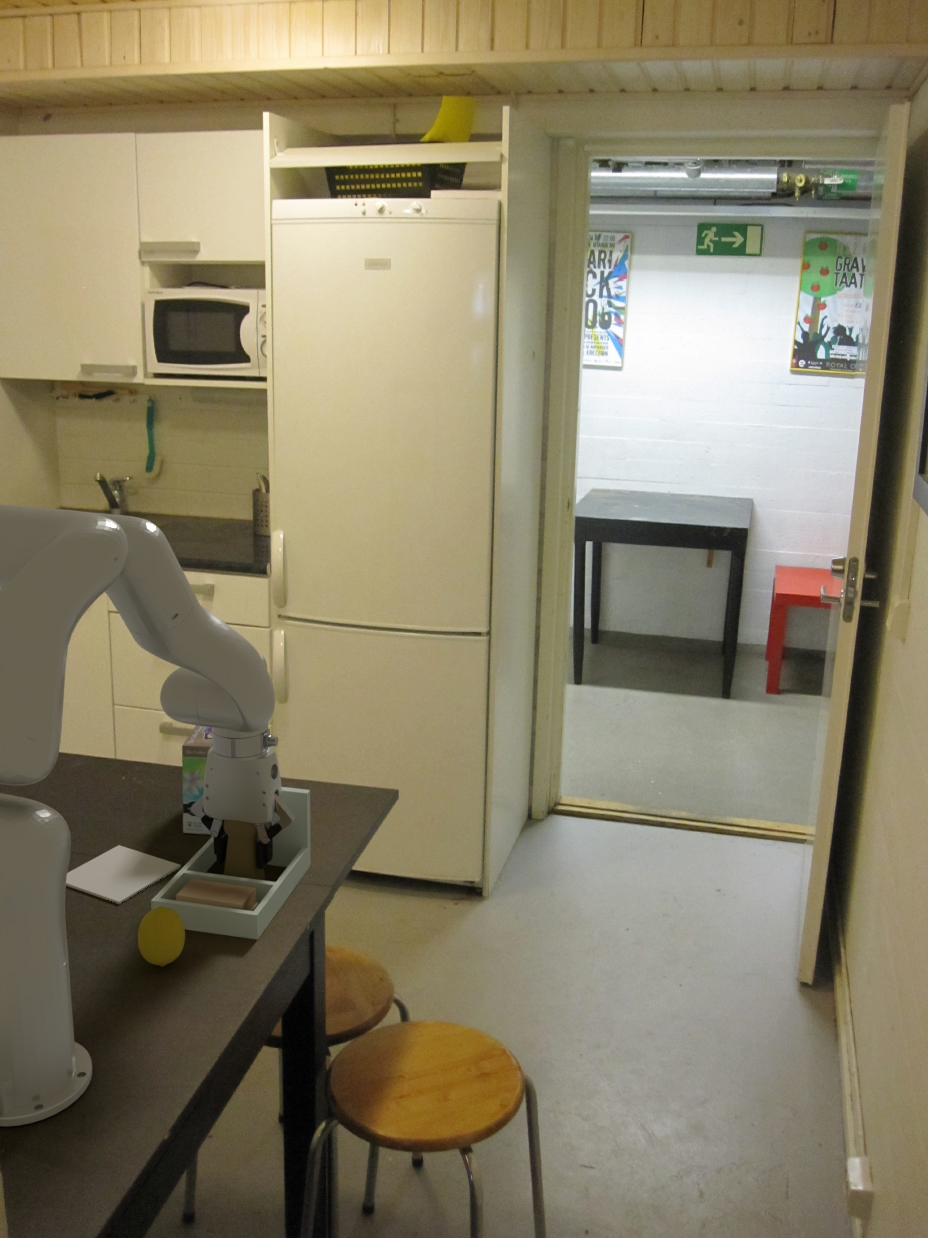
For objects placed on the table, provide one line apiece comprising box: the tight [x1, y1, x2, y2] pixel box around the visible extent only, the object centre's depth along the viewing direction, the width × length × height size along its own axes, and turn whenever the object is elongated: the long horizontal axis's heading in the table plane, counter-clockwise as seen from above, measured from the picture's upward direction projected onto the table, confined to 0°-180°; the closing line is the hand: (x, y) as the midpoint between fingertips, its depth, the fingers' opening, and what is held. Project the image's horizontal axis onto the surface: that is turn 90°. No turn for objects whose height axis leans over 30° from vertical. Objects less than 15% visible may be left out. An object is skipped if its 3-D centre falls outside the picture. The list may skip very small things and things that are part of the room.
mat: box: [66, 844, 182, 905], centre depth 153 cm, size 12×12×1 cm
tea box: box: [181, 725, 212, 835], centre depth 171 cm, size 15×10×15 cm
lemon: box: [137, 906, 186, 967], centre depth 130 cm, size 6×6×8 cm
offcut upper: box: [176, 879, 256, 911], centre depth 142 cm, size 5×9×2 cm, turn 77°
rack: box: [150, 786, 312, 940], centre depth 147 cm, size 20×15×12 cm
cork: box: [223, 820, 267, 881], centre depth 150 cm, size 6×6×11 cm
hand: (243, 861), depth 150 cm, fingers open, 5 cm apart
